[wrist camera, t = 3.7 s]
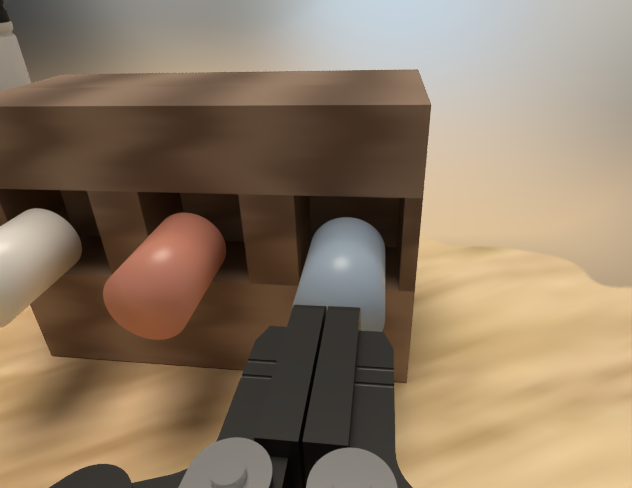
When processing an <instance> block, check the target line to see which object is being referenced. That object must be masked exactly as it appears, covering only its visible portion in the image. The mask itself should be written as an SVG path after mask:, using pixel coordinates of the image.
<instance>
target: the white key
mask: <svg viewBox="0 0 632 488" xmlns="http://www.w3.org/2000/svg"><path fill="white" fill-rule="evenodd" d="M81 253H82V245H81V241H80V238H79V236H78V234H77V232H76V231H75V229H74V228H73V227H72V226H71V225H70V224H69V223H68V222H67V221H66V220H65V219H64V218H62V217H61V216H60V215H58V214H56V213H54V212H52V211H49V210H45V209H39V208H33V209H29V210H26V211H24V212H23V213H21V214H19V215H18V216H16V217H15V218H13V219H11V220H10V221H8V222H7V223H5V224H3V225H2V226H0V328H1V327H4V326H6V325H7V324H9V323H10V322H11V321H12V320H13V319H14V318H15V317H17V316H18V315H19V314H20V313H21V312H22V311H23V310H24V309H26V308H27V307H28V306H29V305H30V304H31V303H32V302H33V301H34V300H36V299H37V298H38V297H39V296H40V295H41V294H42V293H43V292H45V291H46V290H47V289H48V288H49V287H50V286H51V285H52V284H53V283H55V282H56V281H57V280H58V279H59V278H60V277H61V276H62V275H64V274H65V273H66V272H67V271H68V270H69V269H70V268H71V267H72V266H74V265H75V264H76V263H77V262H78V261H79V259H80V257H81Z"/></svg>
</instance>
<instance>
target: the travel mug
mask: <svg viewBox="0 0 632 488" xmlns="http://www.w3.org/2000/svg"><path fill="white" fill-rule="evenodd" d="M3 3H4V2H3V0H0V92H1V91H5V90H8V89H12V88H16V87H19V86H23V85H27V84H30V83H31V81H30V78H29V75H28V72H27V69H26V66H25V62H24V59H23V56H22V54H21V50H20V47H19V44H18V41H17V38H16V36H15V35H14V34H13V33H12V30H13V26H12V23H11V21H10V20H9V17H8V14H7V11H6V10H5V9H4V8H3Z"/></svg>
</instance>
